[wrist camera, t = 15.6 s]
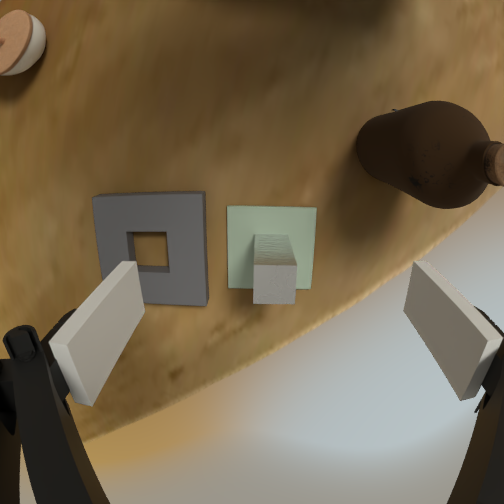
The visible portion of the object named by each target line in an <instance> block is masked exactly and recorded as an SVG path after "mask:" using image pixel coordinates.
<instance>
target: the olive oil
mask: <svg viewBox="0 0 504 504" xmlns="http://www.w3.org/2000/svg"><path fill="white" fill-rule="evenodd" d="M393 110H394V111H395V112H392V113H388V114H384V115H380V116H376V117H374V118H372V119H370V120H369V121H368V122H367V123H366V124H365V125H364V126H363V127H362V129H361V131H360V133H359V135H358V139H357V153H358V157H359V160H360V162H361V164H362V166H363V167H364V169H365V170H366V171H367V172H368V173H369V174H370V175H372V176H373V177H375V178H377V179H379V180H381V181H383V182H385V183H388V184H390V185H392V186H394V187H396V188H398V189H400V190H401V191H403V192H405V193H407V194H409V195H411V196H412V197H414V198H416V199H418V200H419V201H421V202H423V203H425V204H427V205H429V206H432V207H436V208H441V209H452V208H459V207H463V206H465V205H468V204H470V203H471V202H473V201H474V200H476V199H477V198H478V197H479V196H480V195H481V194H482V193H483V191H484V190H485V188H486V187H487V185H488V183H489V184H492V185H494V186H504V144H502V143H501V142H498V141H490V138H489V136H488V134H487V132H486V130H485V128H484V126H483V125H482V124H481V122H480V121H479V120H478V119H477V118H476V117H475V116H474V115H473V114H472V113H471V112H469V111H468V110H466V109H464V108H463V107H460V106H458V105H456V104H453V103H450V102H445V101H429V102H425V103H422V104H419V105H415V106H412V107H408V108H405V109H401V110H396V109H393Z"/></svg>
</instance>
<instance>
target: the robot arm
mask: <svg viewBox="0 0 504 504" xmlns="http://www.w3.org/2000/svg"><path fill="white" fill-rule="evenodd" d="M404 312H405V314H406V315H407V317H408V318H409V320H410V321H411V323H412V324H413V326H414V327H415V329H416V330H417V332H418V333H419V335H420V336H421V338H422V339H423V341H424V342H425V344H426V346H427V347H428V349H429V350H430V352H431V353H432V355H433V357H434V358H435V360H436V361H437V363H438V365H439V366H440V368H441V369H442V371H443V373H444V374H445V376H446V378H447V379H448V381H449V383H450V384H451V386H452V388H453V389H454V391H455V392H456V394H457V396H458V398H459V400H460V401H462V400H466V399H470V398H473V397H475V396H476V394H477V393H478V391H479V389H480V387H481V385H482V386H483V388H484V389H485V390H486V392H485V394H484V395H483V397H482V399H481V401H480V403H479V404H478V406H477V408H476V410H475V413H477V411H478V410H479V412H478V416H477V420H476V424H475V427H474V431H473V434H472V438H471V441H470V444H469V447H468V450H467V453H466V456H465V459H464V462H463V465H462V468H461V470H460V473H459V476H458V478H457V481H456V483H455V486H454V488H453V490H452V493H451V495H450V498H449V500H448V502H447V504H504V333H503V332H502V331H501V330H500V328H499V327H498V326H497V325H495V323H494V322H493V321H492V320H490V318H489V317H488V316H487V315H486V314H485V313H484V312H483V311H482V310H480V309H478V308H477V307H475V306H473V305H472V304H471V303H470V302H469V301H468V300H467V299H466V298H465V297H464V296H463V295H462V294H461V293H460V292H459V291H458V290H457V289H456V288H455V287H454V286H453V285H452V284H451V283H450V282H449V281H447V280H446V279H445V278H444V277H443V276H442V275H441V274H440V273H439V272H438V271H437V270H436V269H435V268H434V267H433V266H431V265H430V264H429V263H428V262H427V261H413V267H412V272H411V278H410V283H409V288H408V292H407V297H406V302H405V306H404ZM144 313H145V309H144V303H143V298H142V292H141V286H140V281H139V274H138V268H137V262H136V261H122V262H121V263H120V264H119V265H118V266H117V267H116V268H115V269H114V270H113V271H112V272H111V273H110V274H109V275H108V276H107V277H106V278H105V279H104V281H103V282H102V283H101V284H100V285H99V286H98V287H97V288H96V289H95V290H94V291H93V292H92V293H91V294H90V296H89V297H88V298H87V299H86V300H85V301H84V302H83V303H82V304H81V305H80V307H79V308H78V309H73V310H71V311H70V312H68V313H67V314H65V315H64V316H63V317H62V318H61V319H60V320H59V321H58V323H57V324H56V325H55V326H54V327H53V329H51V330H50V332H49V333H48V334H47V335H46V336H45V337H44V338H43V340H42V341H41V342H40V341H39V338H38V335H37V333H36V330H35V328H34V327H32V326H30V325H22V326H18V327H15V328H13V329H11V330H10V331H8V332H7V333H6V334H5V336H4V338H3V343H4V345H5V347H6V349H7V352H8V354H9V356H10V358H11V359H0V504H20V497H19V496H20V492H19V480H20V475H19V474H20V451H21V444H22V449H23V453H24V458H25V463H26V467H27V471H28V475H29V479H30V482H31V486H32V490H33V493H34V496H35V500H36V503H37V504H110V502H109V500H108V498H107V497H106V495H105V493H104V491H103V489H102V487H101V484H100V482H99V480H98V478H97V476H96V474H95V472H94V470H93V467H92V465H91V463H90V461H89V458H88V456H87V454H86V451H85V449H84V446H83V443H82V441H81V438H80V436H79V433H78V431H77V428H76V425H75V422H74V420H73V417H72V414H71V411H70V408H69V405H68V403H67V401H66V399H65V398H66V396H67V395H68V393H69V391H70V393H71V395H72V397H73V399H74V401H75V403H80V404H84V405H89V406H93V404H94V402H95V401H96V399H97V397H98V395H99V393H100V391H101V389H102V387H103V385H104V384H105V382H106V380H107V378H108V376H109V374H110V373H111V371H112V369H113V367H114V365H115V364H116V362H117V360H118V358H119V356H120V355H121V353H122V351H123V349H124V347H125V346H126V344H127V342H128V340H129V339H130V337H131V335H132V333H133V332H134V330H135V328H136V327H137V325H138V323H139V321H140V320H141V318H142V316H143V315H144Z"/></svg>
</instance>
